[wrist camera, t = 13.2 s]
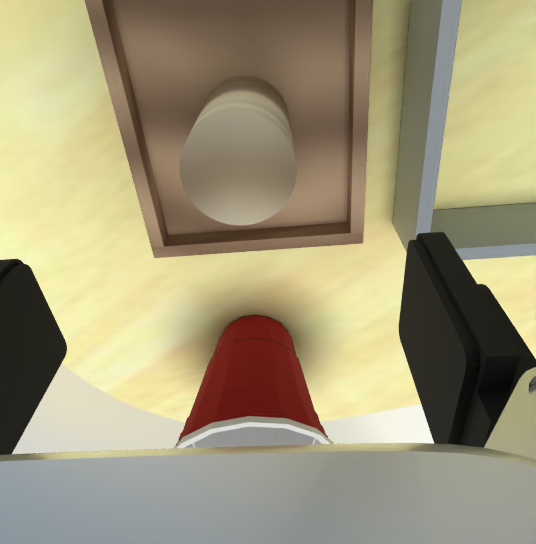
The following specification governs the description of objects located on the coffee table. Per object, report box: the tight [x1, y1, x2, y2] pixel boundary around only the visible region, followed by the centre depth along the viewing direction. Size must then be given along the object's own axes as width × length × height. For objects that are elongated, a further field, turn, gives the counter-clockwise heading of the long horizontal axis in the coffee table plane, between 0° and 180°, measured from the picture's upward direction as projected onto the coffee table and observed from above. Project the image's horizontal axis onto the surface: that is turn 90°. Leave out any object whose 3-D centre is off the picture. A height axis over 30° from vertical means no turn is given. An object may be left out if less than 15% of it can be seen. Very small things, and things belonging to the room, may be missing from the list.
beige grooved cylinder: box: [179, 76, 297, 225], centre depth 22 cm, size 5×5×8 cm
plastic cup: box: [174, 315, 334, 448], centre depth 31 cm, size 11×11×12 cm
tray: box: [85, 0, 373, 258], centre depth 25 cm, size 16×14×2 cm
